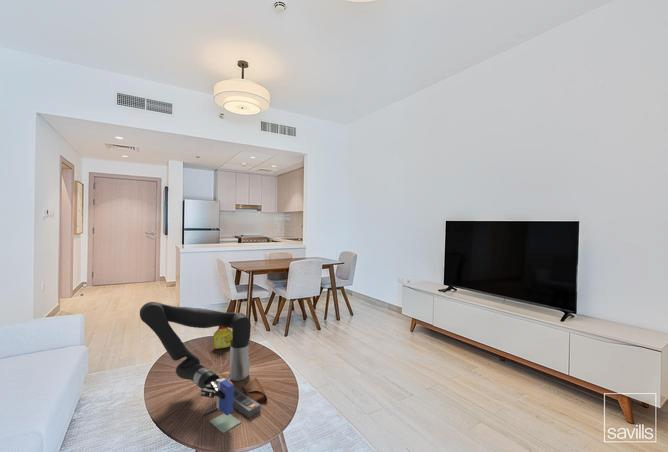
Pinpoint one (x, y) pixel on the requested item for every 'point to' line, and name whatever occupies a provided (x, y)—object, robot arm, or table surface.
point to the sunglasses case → (255, 391)
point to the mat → (225, 422)
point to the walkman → (228, 390)
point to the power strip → (242, 404)
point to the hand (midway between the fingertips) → (228, 395)
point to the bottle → (222, 337)
